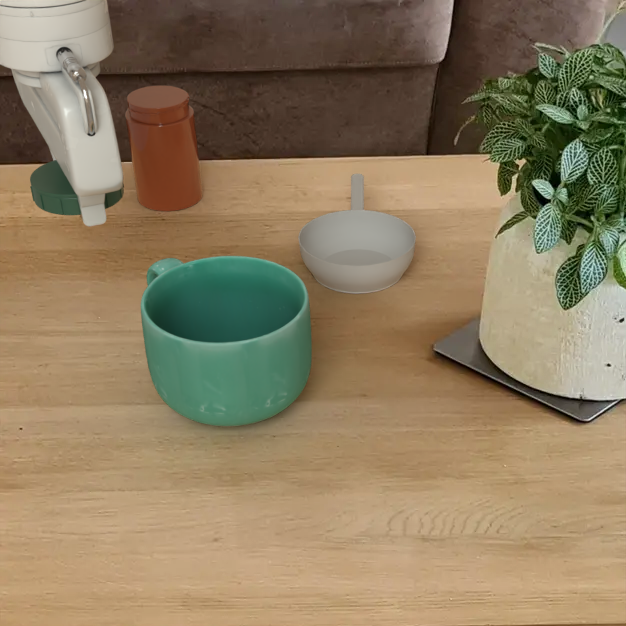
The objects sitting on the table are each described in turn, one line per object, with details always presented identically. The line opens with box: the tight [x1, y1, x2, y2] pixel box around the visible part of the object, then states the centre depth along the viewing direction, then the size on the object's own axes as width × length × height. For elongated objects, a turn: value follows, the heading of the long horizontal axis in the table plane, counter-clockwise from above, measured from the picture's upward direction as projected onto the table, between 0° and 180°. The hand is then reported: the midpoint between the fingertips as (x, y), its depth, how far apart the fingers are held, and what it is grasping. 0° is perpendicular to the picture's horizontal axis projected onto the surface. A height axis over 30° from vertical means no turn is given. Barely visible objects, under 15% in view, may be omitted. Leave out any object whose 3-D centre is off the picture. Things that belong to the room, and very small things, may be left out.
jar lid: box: [29, 160, 125, 216], centre depth 94 cm, size 7×7×2 cm
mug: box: [140, 255, 313, 427], centre depth 91 cm, size 17×13×10 cm
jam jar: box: [124, 85, 204, 212], centre depth 117 cm, size 7×7×11 cm
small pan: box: [297, 173, 417, 295], centre depth 111 cm, size 11×18×4 cm, turn 3°
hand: (81, 199), depth 95 cm, fingers closed on jar lid, 7 cm apart
